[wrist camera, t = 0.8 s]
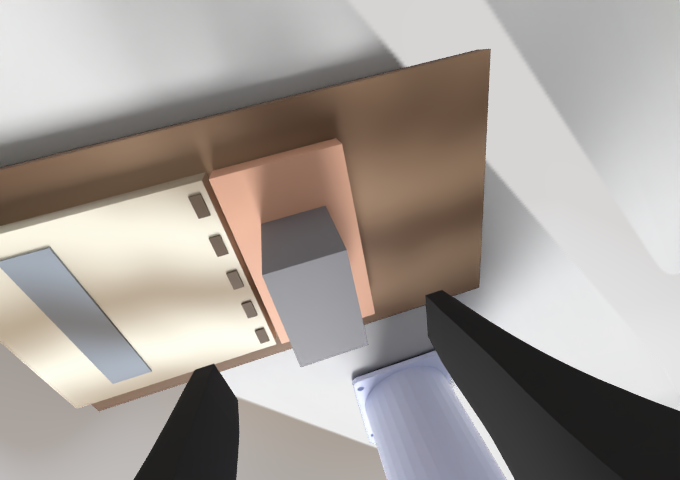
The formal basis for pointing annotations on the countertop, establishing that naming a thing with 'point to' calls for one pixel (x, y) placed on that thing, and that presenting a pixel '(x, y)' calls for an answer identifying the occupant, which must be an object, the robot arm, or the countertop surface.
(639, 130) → the countertop surface
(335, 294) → the pink grey stepped block
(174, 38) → the countertop surface
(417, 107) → the board
